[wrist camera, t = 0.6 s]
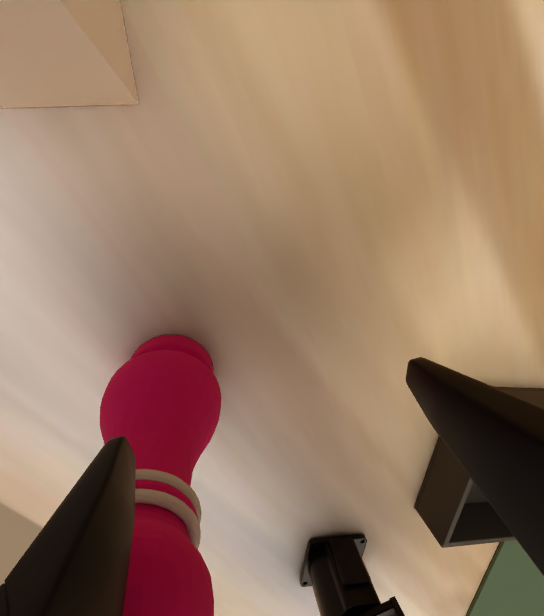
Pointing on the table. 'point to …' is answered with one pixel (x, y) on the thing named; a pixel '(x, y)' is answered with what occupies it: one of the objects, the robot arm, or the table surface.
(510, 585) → the placemat
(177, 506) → the pepper mill
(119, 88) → the milk
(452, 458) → the black box
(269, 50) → the table surface
